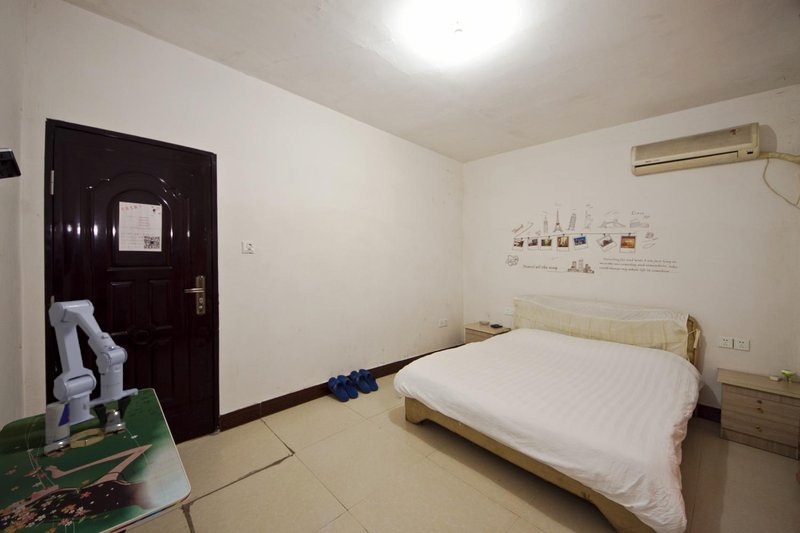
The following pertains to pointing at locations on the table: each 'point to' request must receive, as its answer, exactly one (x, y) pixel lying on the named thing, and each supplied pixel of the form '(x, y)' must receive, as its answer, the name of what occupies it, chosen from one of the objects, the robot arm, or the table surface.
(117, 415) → the hub
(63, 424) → the energy drink
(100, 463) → the table surface
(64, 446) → the shaft
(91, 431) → the collar
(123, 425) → the shaft
